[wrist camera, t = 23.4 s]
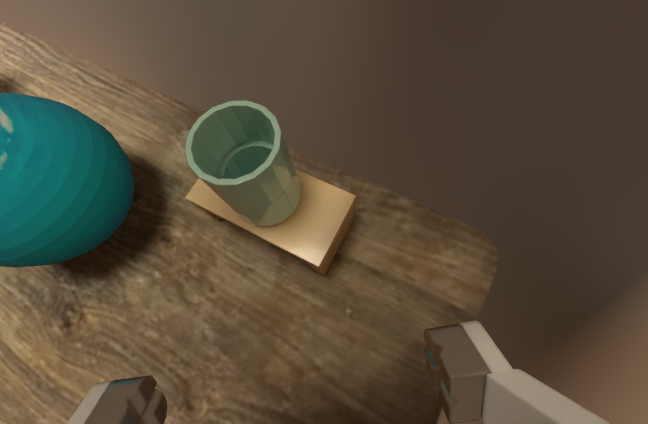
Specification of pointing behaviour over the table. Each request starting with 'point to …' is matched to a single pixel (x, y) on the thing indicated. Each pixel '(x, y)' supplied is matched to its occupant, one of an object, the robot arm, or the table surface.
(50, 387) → the table surface
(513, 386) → the robot arm
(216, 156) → the sage green tumbler
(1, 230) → the decorative orb
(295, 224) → the shelf
